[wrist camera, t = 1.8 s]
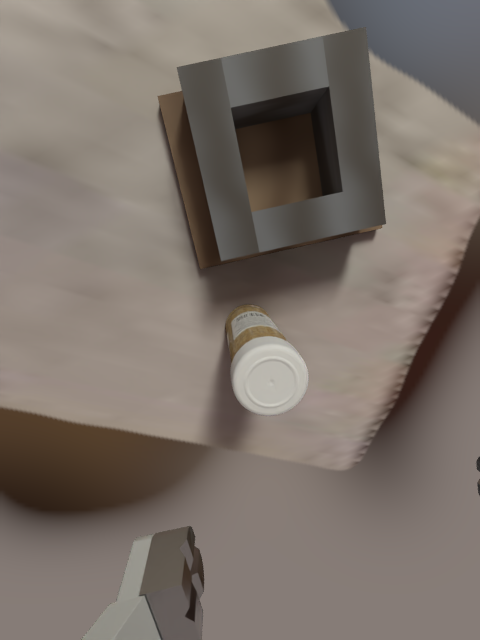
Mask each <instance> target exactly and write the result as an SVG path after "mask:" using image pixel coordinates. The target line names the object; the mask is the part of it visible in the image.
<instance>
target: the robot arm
mask: <svg viewBox="0 0 480 640" xmlns="http://www.w3.org/2000/svg"><path fill="white" fill-rule="evenodd" d="M477 470H478V471H479V472H480V457H479V458H478V459H477ZM478 493H479V495H480V479H479V481H478ZM194 545H195V535H194V532H193V529H192V527H191V526H187V527H182V528H178V529H173V530H168V531H163V532H159V533H155V534H151V535H147V536H141V537H138V538H136V539H135V541H134V542H133V545H132V548H131V552H130V555H129V559H128V562H127V566H126V569H125V572H124V576H123V579H122V582H121V586H120V589H119V593H118V597H117V599H116V602H114V603H111V604H109V605H108V607H107V608H106V609H105V611H104V612H103V613H102V614H101V616H100V617H99V618H98V619H97V620H96V622H95V623H94V624H93V626H92V627H91V628H90V629H89V631H88V632H87V633H86V635H85V636H84V637H83V638H82V639H81V640H202V620H203V609H202V606H201V603H200V601H199V599H200V597H201V595H202V594H203V592H204V570H203V562H202V557H201V554H200V550H199V549H198V548H196V547H195V546H194Z"/></svg>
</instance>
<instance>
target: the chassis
mask: <svg viewBox="0 0 480 640" xmlns="http://www.w3.org/2000/svg"><path fill="white" fill-rule="evenodd" d="M177 70H178V75H179V79H180V84H181V88H182V91H180V92H175V93H171V94H166V95H161V96H158V100H159V104H160V108H161V112H162V116H163V120H164V124H165V128H166V132H167V136H168V140H169V144H170V148H171V152H172V157H173V161H174V165H175V169H176V173H177V177H178V181H179V185H180V189H181V193H182V197H183V201H184V205H185V209H186V213H187V218H188V222H189V226H190V230H191V234H192V238H193V242H194V246H195V250H196V254H197V258H198V262H199V266H200V269H203V268H208V267H212V266H216V265H221V264H225V263H230V262H234V261H239V260H243V259H248V258H252V257H256V256H261V255H265V254H270V253H274V252H279V251H283V250H287V249H292V248H296V247H301V246H305V245H310V244H314V243H318V242H323V241H327V240H332V239H336V238H341V237H345V236H349V235H354V234H358V233H363V232H367V231H372V230H376V229H380V228H382V225H384V224H386V220H385V210H384V200H383V190H382V180H381V171H380V161H379V151H378V141H377V131H376V121H375V112H374V102H373V92H372V82H371V72H370V63H369V53H368V43H367V34H366V27H364V28H359V29H354V30H349V31H345V32H340V33H335V34H331V35H326V36H321V37H316V38H312V39H307V40H302V41H298V42H293V43H288V44H284V45H279V46H274V47H270V48H265V49H260V50H256V51H251V52H246V53H242V54H237V55H232V56H227V57H223V58H218V59H213V60H209V61H204V62H199V63H195V64H190V65H185V66H181V67H177Z"/></svg>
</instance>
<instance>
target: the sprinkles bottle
mask: <svg viewBox="0 0 480 640" xmlns="http://www.w3.org/2000/svg"><path fill="white" fill-rule="evenodd" d="M225 329H226V333H227V341H228V348H229V352H230V356H231V363H232V364H231V369H230V376H231V383H232V388H233V391H234V394H235V396H236V398H237V400H238V401H239V403H240V404H241V405H242V406H243V407H244V408H246V409H247V410H249V411H250V412H252V413H254V414H257V415H262V416H275V415H280V414H283V413H285V412H287V411H289V410H291V409H292V408H294V407H295V406H296V405H297V404H298V403H299V402H300V401H301V399H302V398H303V396H304V395H305V393H306V390H307V387H308V381H309V376H308V370H307V367H306V364H305V362H304V360H303V359H302V357H301V356H300V354H299V353H298V351H297V350H296V349H295V348H294V347H293V346H292V345H291V344H290V343H288V342H287V341H286V339H285V337H284V336H283V334H282V333H281V332H280V330H279V329H278V328H277V327H276V325H275V324H274V323H273V321H272V320H271V319H270V317H269V315H268V314H267V313H266V311H265V310H263V309H262V308H261V307H259V306H256V305H251V304H249V305H242V306H239V307H237V308H236V309H234V310H233V311H232V312H231V313H230V315H229V316H228V318H227V320H226V327H225Z"/></svg>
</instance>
